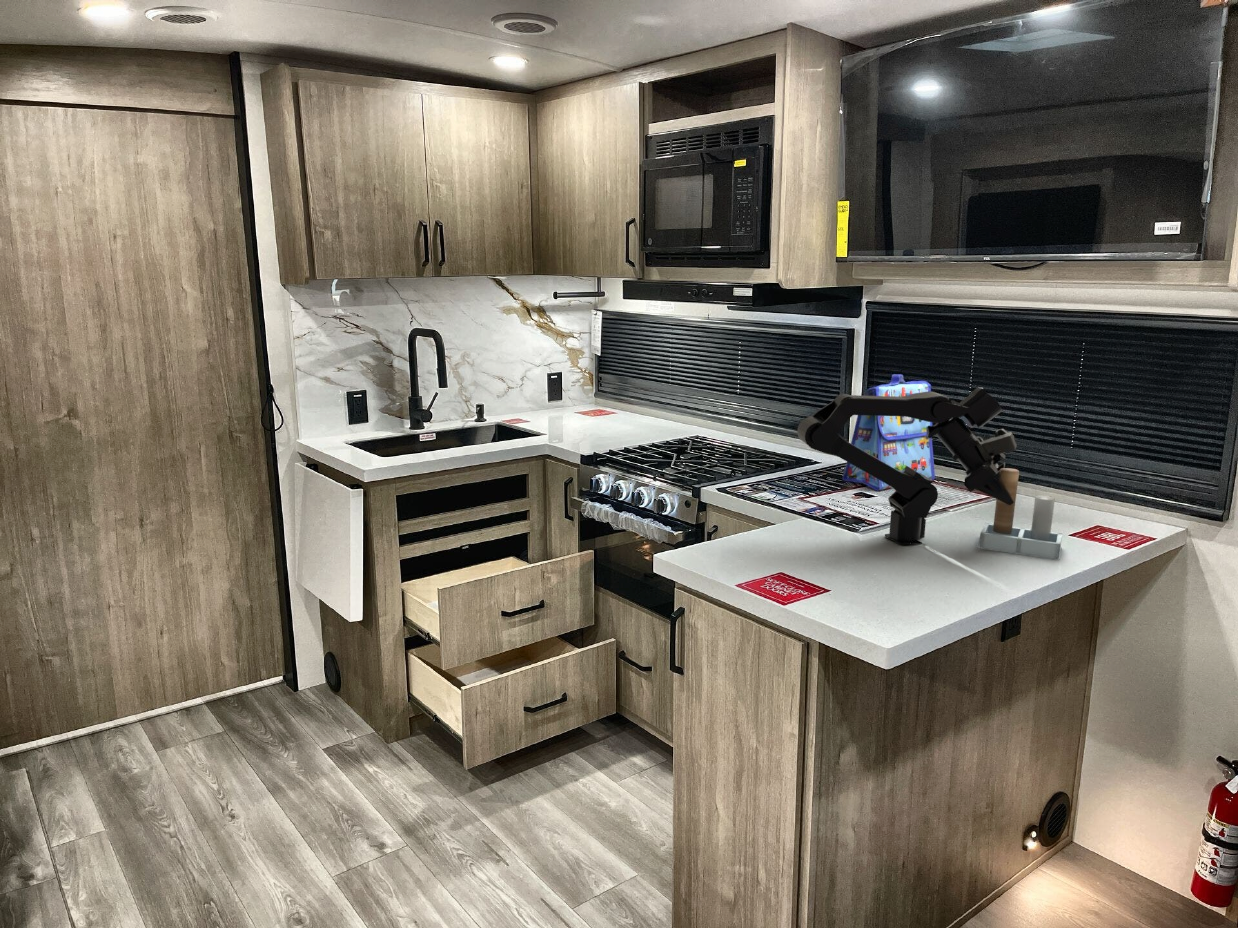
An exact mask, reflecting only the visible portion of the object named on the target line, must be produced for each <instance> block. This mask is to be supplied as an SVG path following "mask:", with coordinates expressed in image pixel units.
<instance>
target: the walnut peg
mask: <svg viewBox="0 0 1238 928" xmlns="http://www.w3.org/2000/svg"><path fill="white" fill-rule="evenodd" d="M1019 476H1020V470H1018V469H1016V468H1009V467H1006V468H1005V467H1004V468H1001V478H1000V479H1001V481H1002V483H1003V484H1004V486H1005V488H1006V489H1007V491H1008V492H1009V494H1010V496H1011V497H1012V499H1013V501H1014V503H1013V504H1011V505H1008V504H1006V503H1004V502H1002V501H1000V500H998V499H996V498H995V499H996V501H995V508H994V516H993V524H994V525H993V531H994V532H996V533H1000V534H1011V533H1012V527H1014V526H1013V525H1014V524H1013V523H1014V518H1015V517H1014V516H1015V508H1016V503H1017V502H1016V500H1017V493H1018V486H1019V485H1018V484H1019Z"/></svg>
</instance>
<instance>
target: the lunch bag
mask: <svg viewBox="0 0 1238 928" xmlns="http://www.w3.org/2000/svg"><path fill="white" fill-rule="evenodd" d="M931 388H932V385H931V384H930V383H929V382H928V381H926V380H918V381H917V380H912V381H911V380H910V381H907V382H906V381H905V379H904V375H903V374H895V373H894V374H892V375H891V380H890V382H889V383H886V384H880V385H876V386H873V387H869V388H868V389H866V391H865V392H864V394H863V396H896V397H902V396H908V395H911V394H915V393H921V392H928V391H931V392H932V389H931ZM856 416H857V417H856V421H855V425H854V430H853V433H852V438H851V442H850V443H851V444H853V445H854V446H856V447H858V448H860V449H861V450H863V451H865V452H867V453H868V454H870V455H872V456H874V457H875V458H877V459H879V460H881V461H882V462H884V463H886V464H888V465H889V466H891V467H893V468H895V469H897V470H901V471H904V470H905V467H906V466H908V467H910V468H911V469H913V470H915V471H916V472H918V473H921V474H923V475H924V476H926V477H927V478H929V479H931V480H932V481H934V480H935V478H936V473H935V462H934V449H933V448H934V447H933V437H932V438H930V439H929V440H927V439H926V434H927V429H926V427H927V426H933V423H932V422H927V421H923V420H919V419H915V418H911V417H906V416H870V415H856ZM842 480H843V481H844V482H853V483H857V484H858V483H859V484H864V485H866V486H868V487H870V488H871V489H873V490H874V491H881V490H887V489H892V488H891V487H890V486H889V485H887V484H886V483H884V482H882V481H880V480H879V479H877V478H875V477H873V476H872V475H870V474H868V473H866V472H864V471H863V470H861V469H859V468H857V467H856V466H854V465H852V464H850V463H849V462H847V461H846V464H845V468H844V472H843V475H842Z"/></svg>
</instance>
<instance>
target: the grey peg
mask: <svg viewBox="0 0 1238 928" xmlns="http://www.w3.org/2000/svg"><path fill="white" fill-rule="evenodd" d="M1055 501H1056V499H1055V498H1054V497H1053V496H1049V495H1036V496H1034V502H1033V503H1034V504H1033V513H1032V518H1031V519H1032V520H1031V536H1030V539H1034V540H1041V541H1048V542H1050V534H1051V532H1052V525H1053V518H1054V517H1053V516H1054V509H1055Z"/></svg>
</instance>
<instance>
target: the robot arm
mask: <svg viewBox="0 0 1238 928" xmlns="http://www.w3.org/2000/svg"><path fill="white" fill-rule="evenodd" d="M1002 411H1003V408H1002V407H1001V404H1000V403H999V401H998V400H996V399H995V398H994V397H993V396H992V395H990V394H989V393H988V392H987V391H986V390H985V389H984V388H983V387H979V386H978V387H976V388H975V389H974V390H973V391H972V392H971V393H970V394H969V395H967V397H965V398H964V399H962V400H961V401H959V402H957V401H955V400H951V399H950V398H949V397H947V396H946V395H944V394H940V393H937V392H935V391H932V390H931V391H928V392H921V393H915V394H911V395H908V396H902V397H896V396H864V395H853V394H852V395H850V394H847V393H841V394H839V395H838V396H837V397H835V398H834V400H832V401H831V402H830V403H828V404H826V405H824V406H822V407H821V408H820V409H817V411H816V412H814V413H813V414H812V415H811V416H809V417H805V418H804V419H802V420H801V422H799V424H798V426H797V437H798V438H799V440H800V441H802V442H803V443H804V444H805V445H807V446H808V447H809V448H811V449H812V450H815V451H817V452H820V453H823V454H826V455H831V456H835V457H837V458H839V459H842V460H843V461H845V462H846V463H847V462H849V463H850V464H852V465H854V466H856V467H857V468H859V469H861V470H863V471H864V472H866V473H868V474H870V475H872V476H873V477H875V478H877V479H879V480H880V481H882V482H884V483H886V484H887V485H889V486H890V487H891V488H890V489H893V490H894V492H893V493H892V494H890V496H889V497H888V499H887V500H888V503H889V506H890V507H891V508H893V509H894V510H890V523H889V531H888V532H889V533H885V534H884V537H885V538H887V539H889V540H890V541H893V542H894V543H897V544H898V545H900V546H908V545H919V544H923V542H922V541H920V539H923V538H925V536H926V526H927V525H926V524H927V519H926V518H927V517H928V515H929V512H930V511H931V508H932V507H933V506H934V505H935V504H936V502H937V500H938V498H939V497H938V496H939V492H938V488H937V486H935V485H934V484H932V483H934V480H931V479H929V478H927V477H926V476H924V475H923V474H921V473H918V472H916V471H915V470H913V469H911V468H910V467H908V466H906V467H905V470H904V471H901V470H897V469H895V468H893V467H891V466H889V465H888V464H886V463H884V462H882V461H881V460H879V459H877V458H875V457H874V456H872V455H870V454H868V453H867V452H865V451H863V450H861V449H860V448H858V447H856V446H854V445H853V444H851V442H849V441H848V440H846V439H845V438H844V437H843V436H842V435H841V434H840V432H841V431H842V429H843V428H844V426H845V425H846V424H847V422H849V420H850V418H852V417H853V416H858V415H870V416H906V417H911V418H915V419H919V420H923V421H927V422H932V424H934V425H932V426H927V427H926V429H927V434H926V439H927V440H929V439H930V438H932V439H933V437H935V436H936V437H937V438H938V440H940V441H941V443H942V444H943V445H944V446H945V447H946V448H947V449H948V451H949V452H950V453H951V454H952V456H951V457H952V458H951V459H953V460H954V461H958V462H959V463H960V464H961V465H962V467H963V468H964V469H965V470H966V471H965V472H964V473H965V474H966V477H964V482H963V483H964V484H963V485H964V486H965V488H966V489H967V490H968V491H969V492H970V493H971V492H973V491H974V490H975V491H978V492H981V493H982V494H983V493H984V494H985V495H988V496H989V497H992V498H994V499H998V500H1000V501H1002V502H1004V503H1006V504H1008V505H1011V504H1013V503H1014V501H1013V499H1012V497H1011V496H1010V494H1009V492H1008V491H1007V489H1006V488H1005V486H1004V484H1003V483H1002V481H1001V479H1000V478H1001V468H1005V466H1006V461H1004V462H1002V463H1001V464H998V463H999V462H1000V461H1003V460H1005V459H1006V455H1005V453H1011V452H1014V451H1016V449H1017V448H1018V445H1017V443H1016V441H1015V436H1014V435H1013V432H1011V431H1009V432H1008V431H1006V430H1005V429H1004V428H1000V429H998V430H996V431H995V432H994V436H993V437H990V438H988V439H985V440H984V439H983V438H982V437H981V436H976V435H975V433H973V431H971V430H970V429H969V428H971V429H973V428H974V427H975V428H977V429H980V428H982V427H983V426H984V425H986V424H988V422H990V421H991V420H992V419H994V418H995V417H996V416H998V415H999V414H1000V413H1001V412H1002ZM968 427H969V428H968Z"/></svg>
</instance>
